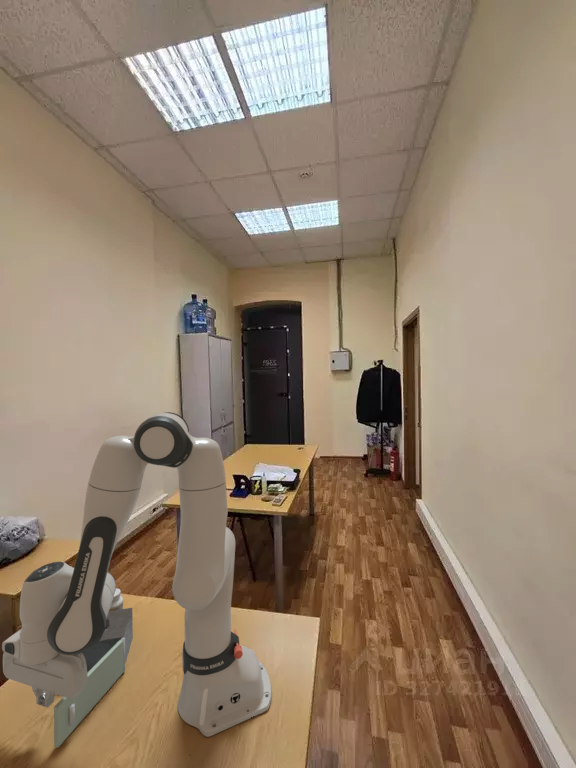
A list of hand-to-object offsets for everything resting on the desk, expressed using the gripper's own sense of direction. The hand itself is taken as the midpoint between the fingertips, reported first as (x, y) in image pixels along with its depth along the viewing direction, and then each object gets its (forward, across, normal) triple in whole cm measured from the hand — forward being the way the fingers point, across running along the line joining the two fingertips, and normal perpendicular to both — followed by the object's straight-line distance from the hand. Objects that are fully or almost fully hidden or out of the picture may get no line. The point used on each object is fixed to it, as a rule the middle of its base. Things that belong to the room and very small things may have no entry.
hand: (45, 703), depth 74 cm
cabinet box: (+7, +5, -20) cm, 22 cm away
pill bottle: (+7, +11, -31) cm, 33 cm away
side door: (+6, -6, -8) cm, 12 cm away
